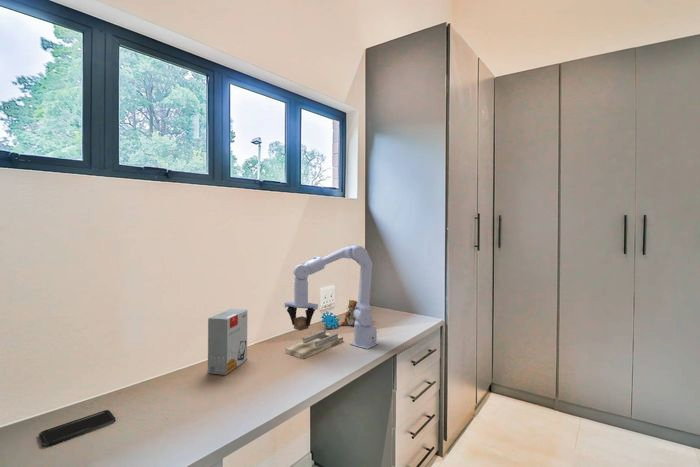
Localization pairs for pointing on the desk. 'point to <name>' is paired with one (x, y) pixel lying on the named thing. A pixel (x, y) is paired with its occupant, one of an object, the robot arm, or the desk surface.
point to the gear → (330, 320)
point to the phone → (76, 428)
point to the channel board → (314, 344)
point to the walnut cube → (300, 323)
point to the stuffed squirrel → (350, 314)
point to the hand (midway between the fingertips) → (301, 325)
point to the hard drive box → (227, 341)
